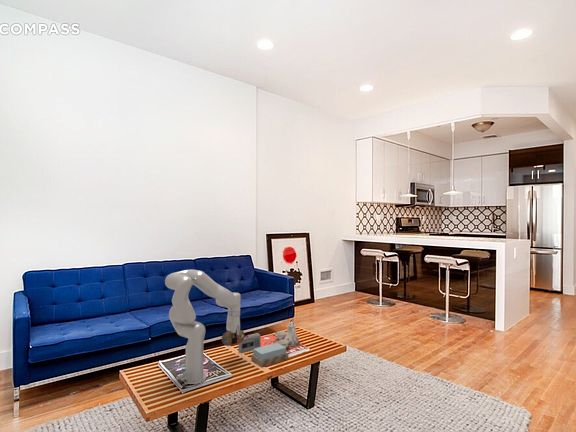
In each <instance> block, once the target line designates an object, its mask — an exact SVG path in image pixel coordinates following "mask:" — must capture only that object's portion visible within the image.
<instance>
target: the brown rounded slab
mask: <svg viewBox="0 0 576 432" xmlns="http://www.w3.org/2000/svg"><path fill="white" fill-rule="evenodd" d="M235 332H236V331H235ZM235 334H236V333H235ZM235 334H234V335H235ZM245 336H246V335H245V331H243V330H242V329H240V332H239V335H238V337H237V344H232V337H233V333H231V332H229V331H227V330H226V331H225V332H223V334H222V335H221V343H222V345H224V346H226V347H231V346H235V345H239V344H240V343H241V342H243V340H244V338H245Z"/></svg>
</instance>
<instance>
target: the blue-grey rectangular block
mask: <svg viewBox="0 0 576 432" xmlns="http://www.w3.org/2000/svg"><path fill="white" fill-rule="evenodd" d="M252 351H253V354H252V355H254V356H255V357H257V358H258V359H260V360H261V361H263V360H266V359H270V358H273V357H277V356H281V355H284V354H286V353H287V348H286V347H284V346H282V345H280V344H279V343H277V342H274V343H271V344H268V345H263V346H261V347H259V348H255V349H253V350H252Z"/></svg>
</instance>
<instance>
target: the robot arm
mask: <svg viewBox="0 0 576 432" xmlns="http://www.w3.org/2000/svg"><path fill="white" fill-rule="evenodd" d="M164 284H165V286H166V287H167V288H168V289H170V290H173V291H174V292H173V295H172V298H171V303H172V306H171V307H170V309H169V312H168V318H169V320H170V322H171V324H172V327H173V328H174V330H175V333H177V335H178V336H180V337H183V338H186V339H188V340H187V343H186V344H185V371H183V373H182V374H181V375H177V376H175V377H176V381H179V380H180V381H181V382H182V383H183V382H184V383H183V384H185V383H186V384H185V385H187V384H196V385H199V384H198V383H200V384H202V383H204V382H205V381H206V380H207V375H206V374H205V373H204V345H205V344H204V341H205V338H206V337H205V335H206V326H205V325H204V324H203V323H201V322H199V321H197V320H196V318H197V315H196V312H195V309H194V307H193V305H192V303H191V301H190V299H189V294H190V291H191V289H192V287H193V286H195V287H196V288H198V290H200V291H201V292H203V294H205V295H206V296H208V297H210V298H213V299H215V303H216V305H217V306H219V307H222V308H227V317H226V327H225V328H226V332H227V331H229V332H231V333H233V337H232V344H235V345H238V344H237V337H238V335H239V332H240V330H241V319H240V318H241V293H239V292H232V291H230V290H229V289H227V288H226V287H224V286H222V285H220V284H219V283H217V282H216V281H214V280H213V279H212V278H211V277H210V276H209V275H208V274H206V273H205V272H204V271H203V270H198V269H186V270H185V269H184V270H180V271H176V272H172V273H170V274H168V275H167V276H166V278H165V280H164ZM235 331H236V332H235ZM235 333H236V334H235ZM234 334H235V335H234ZM203 381H204V382H203ZM201 382H202V383H201Z"/></svg>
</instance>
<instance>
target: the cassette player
mask: <svg viewBox="0 0 576 432" xmlns="http://www.w3.org/2000/svg"><path fill="white" fill-rule="evenodd" d="M261 341H262V340H261V334H260V333H258V332H257V333H253V334H251V333H250V334H247V335H245V338H244V340H243V342H241V343H240V344H237V345H238V347H237V348H238V353H239V354H244V353H247V352H251V351H253V349H255V348H259V347H262V346H261Z"/></svg>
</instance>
